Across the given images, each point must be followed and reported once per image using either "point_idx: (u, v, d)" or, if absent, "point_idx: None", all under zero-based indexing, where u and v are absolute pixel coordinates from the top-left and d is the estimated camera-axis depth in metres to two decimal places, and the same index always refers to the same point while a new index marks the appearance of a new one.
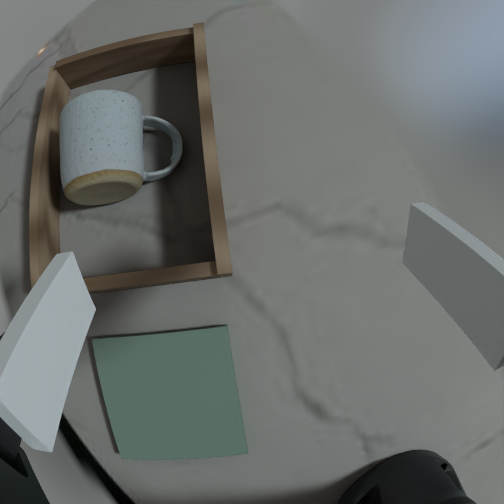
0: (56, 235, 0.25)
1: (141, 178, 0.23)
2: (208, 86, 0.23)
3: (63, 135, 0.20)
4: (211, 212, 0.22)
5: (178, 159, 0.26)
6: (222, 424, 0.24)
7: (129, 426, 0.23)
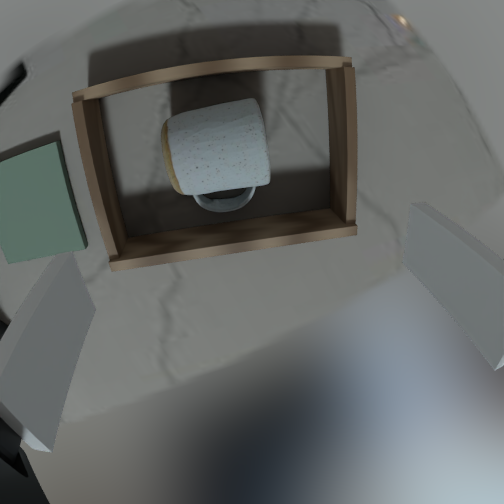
0: (142, 87, 0.25)
1: None
2: (269, 247, 0.29)
3: (222, 124, 0.22)
4: (151, 257, 0.28)
5: (211, 210, 0.30)
6: (22, 247, 0.29)
7: (1, 179, 0.25)
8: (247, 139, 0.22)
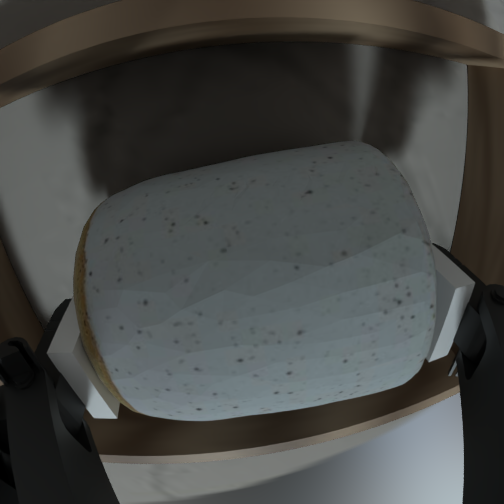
0: (45, 85, 0.08)
1: None
2: (342, 436, 0.13)
3: (291, 275, 0.06)
4: (114, 456, 0.11)
5: None
6: None
7: None
8: (382, 337, 0.06)
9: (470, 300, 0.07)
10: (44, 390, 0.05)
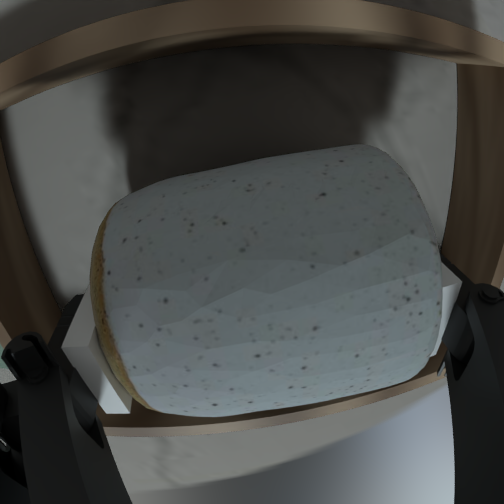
0: (71, 78, 0.09)
1: None
2: (341, 410, 0.14)
3: (307, 274, 0.06)
4: (123, 428, 0.13)
5: None
6: None
7: None
8: (392, 332, 0.06)
9: (457, 299, 0.07)
10: (58, 385, 0.05)
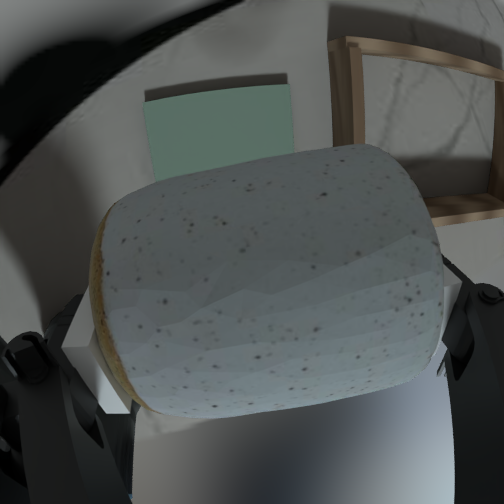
0: (385, 56, 0.23)
1: None
2: (474, 220, 0.27)
3: (308, 275, 0.06)
4: None
5: None
6: None
7: (189, 115, 0.23)
8: (394, 333, 0.06)
9: (457, 299, 0.07)
10: (58, 385, 0.05)
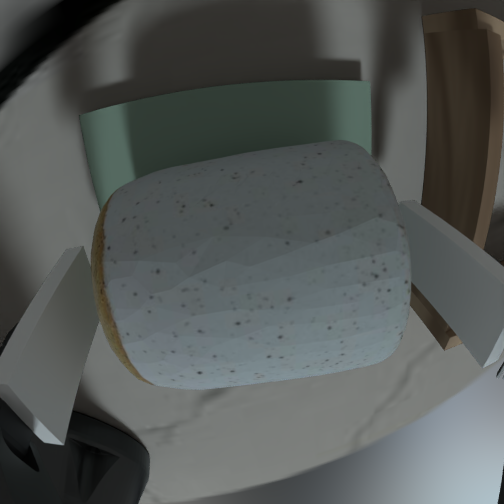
0: None
1: None
2: None
3: (282, 250, 0.07)
4: None
5: None
6: None
7: (170, 138, 0.11)
8: (362, 307, 0.07)
9: None
10: None
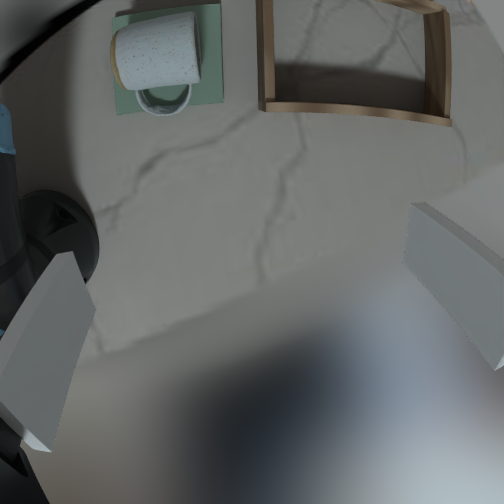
0: None
1: None
2: (398, 118, 0.30)
3: (159, 24, 0.21)
4: (308, 104, 0.29)
5: (152, 113, 0.30)
6: (144, 95, 0.30)
7: None
8: (177, 33, 0.21)
9: None
10: None
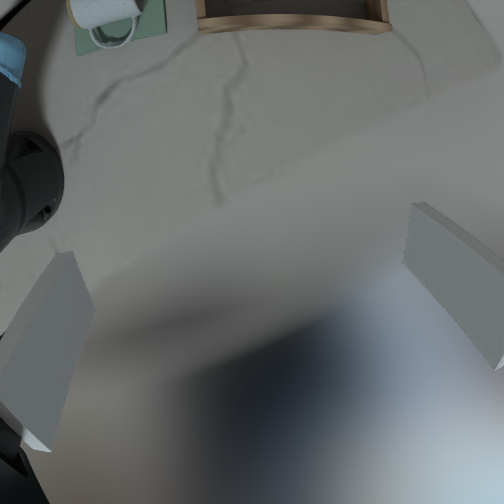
0: None
1: None
2: (330, 22, 0.29)
3: None
4: (236, 16, 0.27)
5: (104, 47, 0.29)
6: (99, 36, 0.29)
7: None
8: None
9: None
10: None
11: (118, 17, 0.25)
